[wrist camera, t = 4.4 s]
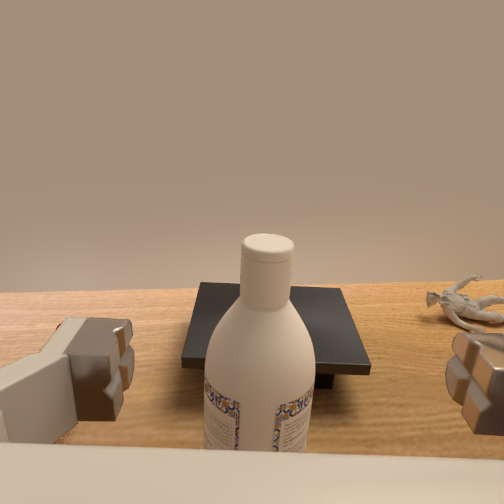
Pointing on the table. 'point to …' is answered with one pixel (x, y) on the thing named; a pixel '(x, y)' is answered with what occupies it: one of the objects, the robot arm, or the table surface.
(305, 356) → the bath foam
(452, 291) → the soldier figure
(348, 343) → the platform
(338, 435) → the table surface
